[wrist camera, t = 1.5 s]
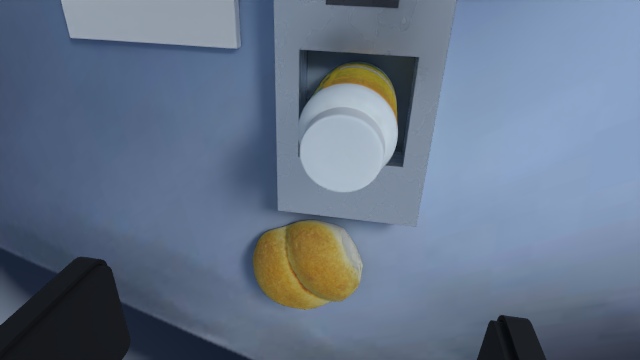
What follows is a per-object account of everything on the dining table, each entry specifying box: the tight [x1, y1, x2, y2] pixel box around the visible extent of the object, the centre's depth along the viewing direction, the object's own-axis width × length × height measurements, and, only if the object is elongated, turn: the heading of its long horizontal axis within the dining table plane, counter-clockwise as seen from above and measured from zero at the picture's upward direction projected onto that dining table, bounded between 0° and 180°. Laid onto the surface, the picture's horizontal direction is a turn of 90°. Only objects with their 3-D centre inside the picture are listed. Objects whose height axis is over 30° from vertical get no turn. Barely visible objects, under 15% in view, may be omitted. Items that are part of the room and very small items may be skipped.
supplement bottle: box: [298, 61, 398, 193], centre depth 23 cm, size 5×5×10 cm
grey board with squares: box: [274, 0, 457, 227], centre depth 24 cm, size 24×10×3 cm, turn 178°
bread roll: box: [253, 219, 363, 310], centre depth 32 cm, size 8×9×4 cm
